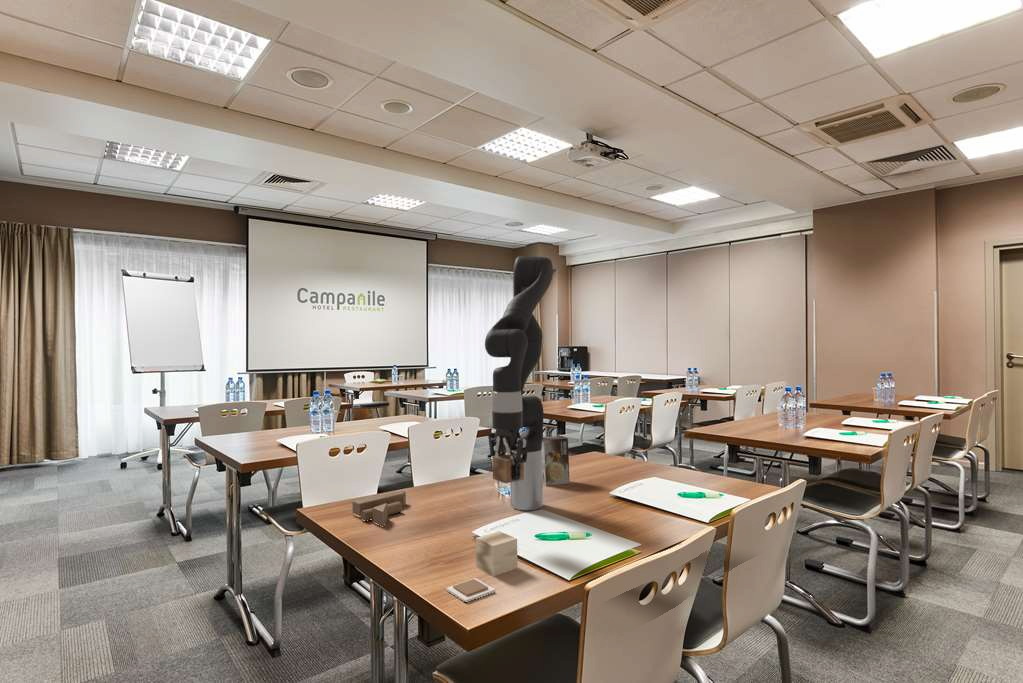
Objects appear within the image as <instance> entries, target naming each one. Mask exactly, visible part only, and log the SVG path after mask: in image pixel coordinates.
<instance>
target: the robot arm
mask: <svg viewBox="0 0 1023 683" xmlns="http://www.w3.org/2000/svg"><path fill="white" fill-rule="evenodd" d="M512 272H513V275H512V276H513V278H512V283H513V285H512V286H513V287H512V288H513V289H512V290H513V295H512V296H513V297H512V299H511V300H510V301H509V303H508V304H507V306H506V308H505V311H504V312H503V315H502V317H501V318H499V319H498V321H496V323H495V324H494V325H493V326H492V327H491V328H490V329H489V330H488V332H487V334H486V336H485V340H484V347H485V348H484V349H485V351H486V353H487V355H489V356H490V357H492V358H510V360H509V362H508V364H507V365H505V366H500V367H496V368H494V370H493V372H492V397H491V398H492V399H491V406H492V407H491V412H492V415H491V416H492V417H491V418H492V419H491V420H492V421H491V422H492V423H491V425H492V429H494V430H495V432H494V431H493V432H488V434H487V435H488V436H487V437H488V445H489V454H490V457H495V456H501V455H506V454H507V455H508V456H509V457H510V460H511V464H512V465H511V479H512V480H518V479H520V475H521V473H520V465H521V463H524V480H519V481H515V482H510V484H509V485H510V493H509V494H510V505H511V506H512V507H513V509H516V510H518V511H536V510H540V509H542V508H543V507H544V502H543V501H544V500H543V499H544V497H543V496H544V494H543V487H544V486H543V485H544V484H542V441H543V437H544V416H545V415H544V406H543V402H542V401H541V398H540V397H538V396H536V395H533V396H532V395H530V396H529V395H528V396H523V394H524V388H525V385H526V383H527V380H528V378H529V376H530V375H531V373H532V372H533V371H534V369H535V368H536V366H537V364H538V362H539V360H540V359H541V356H542V346H543V331H542V329H541V327H540V324H539V323H538V321H537V319H536V317H535V315H534V311H535V309H536V307H537V306H538V304H539V303H540V301H541V300H542V298H543V297H544V295H545V294H546V292H547V291H548V289H549V287H550V285H551V283H552V279H553V275H554V267H553V262H552V260H551V259H550V258H549V257H545V256H531V255H530V256H529V255H528V256H527V255H519V256H517V257H516V258H515V261H514V264H513V271H512ZM522 428H525V430H524V432H522V434H521V433H520V430H521V429H522ZM514 455H516V459H515V458H514ZM521 457H522V458H521Z"/></svg>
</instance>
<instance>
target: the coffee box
mask: <svg viewBox="0 0 1023 683" xmlns="http://www.w3.org/2000/svg"><path fill="white" fill-rule="evenodd" d="M570 478H571V477H570V457H569V438H568V437H566V436H563V435H559V436H558V435H555V436H543V441H542V485H544V486H545V487H549V486H559V485H561V486H562V485H568V484H570V481H571V480H570Z"/></svg>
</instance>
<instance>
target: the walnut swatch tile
mask: <svg viewBox="0 0 1023 683" xmlns="http://www.w3.org/2000/svg"><path fill="white" fill-rule="evenodd" d="M445 590H446V592H447V591H448V592H447V593H449V592H450V593H451V595H452V594H453V595H455V596H456V597H458V598H459V599H461V600H463V601H465V602H468V601H471V600H473V601H475V600H474V599H476V600H478V599H477V598H479V599H481V598H484V597H486V595H487V596H489V595H488V594H490V595H492V594H495V593H496V589H495V588H494V587H492V586H490V585H488V584H487V583H485V582H484V581H481V580H480V579H478V578H476V577H474V578H471V579H470V578H469V579H468V580H465V581H462V582H459V583H455V584H453V585H451V586H450V585H449V586H447V587H446V588H445ZM494 592H495V593H494ZM450 593H449V594H450ZM491 593H492V594H491ZM453 595H452V596H453ZM455 596H454V597H455ZM483 596H484V597H483ZM456 597H455V598H456ZM480 597H481V598H480ZM458 598H457V599H458ZM459 599H458V600H459ZM461 600H460V601H461ZM463 601H462V602H463ZM471 602H472V601H471ZM468 603H469V602H468Z"/></svg>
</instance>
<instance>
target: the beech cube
mask: <svg viewBox="0 0 1023 683" xmlns="http://www.w3.org/2000/svg"><path fill="white" fill-rule="evenodd" d="M475 557H476V558H475V559H476V560H475V561H476V562H475V563H476V565H475V566H476V568H478V569H479V570H481V571H483V572H485V573H487V574H489V575H490V576H492V577H495V576H499V575H502V574H505V573H507V572H510V571H513V570H517V569H518V568H519V566H518V562H519V561H518V559H519V558H518V538H517V537H514V536H512V535H510V534H508V533H505V532H503V531H499V530H498V531H495V532H491V533H488V534H484V535H480V536H478V537H477V536H476V537H475Z"/></svg>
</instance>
